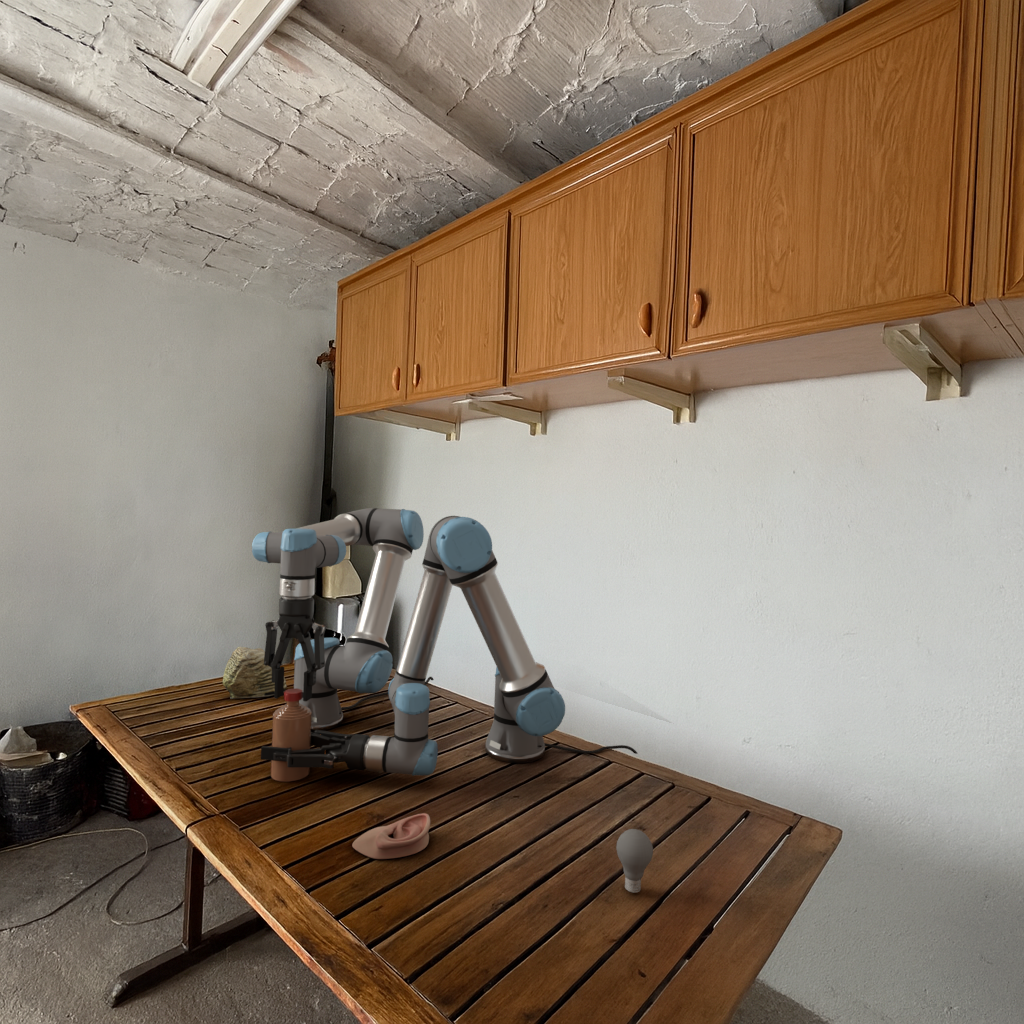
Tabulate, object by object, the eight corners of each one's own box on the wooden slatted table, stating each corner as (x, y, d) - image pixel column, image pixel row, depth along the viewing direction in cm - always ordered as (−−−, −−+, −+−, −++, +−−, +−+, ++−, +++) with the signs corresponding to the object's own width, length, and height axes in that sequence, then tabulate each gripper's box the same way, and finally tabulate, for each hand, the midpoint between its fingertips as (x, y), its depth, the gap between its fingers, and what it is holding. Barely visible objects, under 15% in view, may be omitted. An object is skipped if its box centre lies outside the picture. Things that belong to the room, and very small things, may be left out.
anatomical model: (345, 832, 112) (372, 802, 124) (344, 854, 113) (371, 822, 124) (415, 843, 110) (436, 812, 121) (414, 866, 110) (436, 832, 121)
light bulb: (610, 879, 108) (613, 822, 108) (644, 879, 109) (647, 822, 109) (619, 902, 102) (622, 840, 102) (655, 901, 103) (658, 840, 103)
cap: (291, 695, 146) (291, 687, 146) (305, 697, 145) (306, 689, 145) (279, 700, 143) (280, 692, 143) (294, 702, 141) (295, 694, 141)
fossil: (218, 695, 195) (220, 647, 195) (278, 685, 208) (279, 640, 207) (228, 703, 189) (230, 653, 188) (289, 692, 201) (290, 645, 201)
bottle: (271, 783, 139) (274, 701, 138) (269, 768, 146) (272, 689, 146) (311, 778, 142) (314, 697, 142) (307, 763, 150) (310, 687, 149)
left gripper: (248, 596, 141) (244, 699, 142) (329, 602, 138) (325, 707, 139) (266, 591, 149) (262, 689, 149) (343, 597, 146) (339, 696, 146)
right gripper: (351, 790, 132) (247, 781, 134) (381, 751, 153) (291, 743, 155) (352, 754, 132) (248, 746, 134) (382, 720, 153) (292, 713, 155)
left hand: (293, 697), depth 144 cm, fingers open, 6 cm apart
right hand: (271, 744), depth 144 cm, fingers closed on bottle, 8 cm apart
